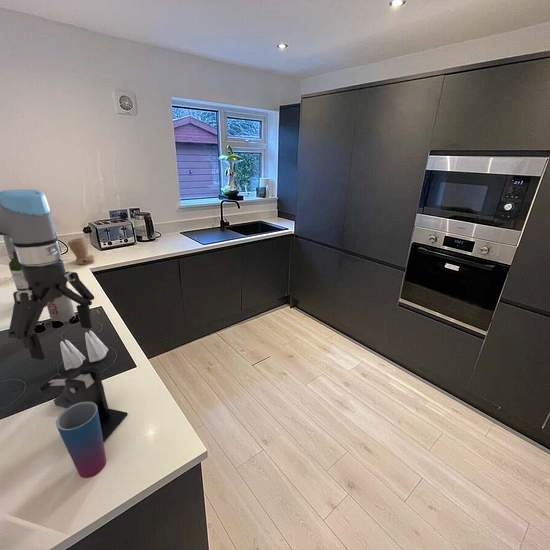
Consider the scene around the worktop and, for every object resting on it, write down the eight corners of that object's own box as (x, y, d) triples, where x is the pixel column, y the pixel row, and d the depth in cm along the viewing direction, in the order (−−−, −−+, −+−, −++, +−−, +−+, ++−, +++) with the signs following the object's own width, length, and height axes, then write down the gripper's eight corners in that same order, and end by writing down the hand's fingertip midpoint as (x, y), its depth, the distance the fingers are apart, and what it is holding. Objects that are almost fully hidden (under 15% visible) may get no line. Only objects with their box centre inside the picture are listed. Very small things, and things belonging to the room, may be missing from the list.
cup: (85, 453, 64) (69, 401, 59) (116, 451, 65) (103, 400, 59) (66, 484, 58) (47, 430, 53) (101, 483, 59) (86, 429, 53)
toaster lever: (39, 394, 67) (34, 386, 67) (58, 379, 72) (54, 372, 71) (81, 393, 64) (76, 384, 63) (99, 377, 68) (94, 369, 67)
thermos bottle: (61, 325, 112) (42, 258, 102) (46, 322, 115) (26, 255, 104) (80, 316, 120) (63, 252, 109) (66, 313, 122) (48, 249, 112)
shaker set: (109, 353, 97) (102, 325, 93) (109, 360, 94) (102, 331, 90) (66, 364, 92) (57, 334, 88) (65, 372, 88) (55, 341, 84)
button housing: (55, 406, 76) (51, 394, 75) (80, 385, 84) (77, 374, 82) (80, 412, 75) (77, 400, 73) (104, 390, 82) (101, 379, 80)
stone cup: (73, 259, 185) (67, 237, 179) (94, 257, 190) (90, 235, 185) (71, 267, 172) (65, 242, 167) (94, 264, 178) (89, 240, 172)
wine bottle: (21, 308, 124) (-2, 241, 113) (23, 301, 130) (1, 237, 119) (43, 304, 128) (23, 239, 117) (45, 297, 134) (26, 235, 123)
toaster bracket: (61, 437, 68) (43, 384, 62) (91, 407, 76) (78, 358, 70) (101, 447, 66) (86, 393, 60) (128, 415, 74) (117, 366, 68)
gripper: (-7, 284, 52) (26, 377, 60) (99, 248, 75) (113, 319, 83) (-39, 280, 54) (-2, 371, 62) (75, 245, 76) (91, 315, 84)
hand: (64, 341), depth 72 cm, fingers open, 13 cm apart
